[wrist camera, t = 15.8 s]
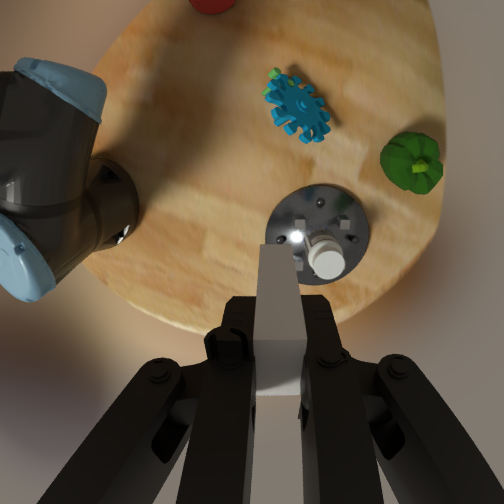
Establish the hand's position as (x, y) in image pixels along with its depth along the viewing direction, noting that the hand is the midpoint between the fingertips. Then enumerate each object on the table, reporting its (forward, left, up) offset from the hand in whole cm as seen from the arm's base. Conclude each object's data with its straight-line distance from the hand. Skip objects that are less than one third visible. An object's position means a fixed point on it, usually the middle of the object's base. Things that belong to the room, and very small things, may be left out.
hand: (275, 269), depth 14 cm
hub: (+7, -9, -26) cm, 29 cm away
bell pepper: (+19, +4, -27) cm, 33 cm away
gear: (+3, +10, -27) cm, 29 cm away
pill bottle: (+7, -9, -26) cm, 28 cm away
